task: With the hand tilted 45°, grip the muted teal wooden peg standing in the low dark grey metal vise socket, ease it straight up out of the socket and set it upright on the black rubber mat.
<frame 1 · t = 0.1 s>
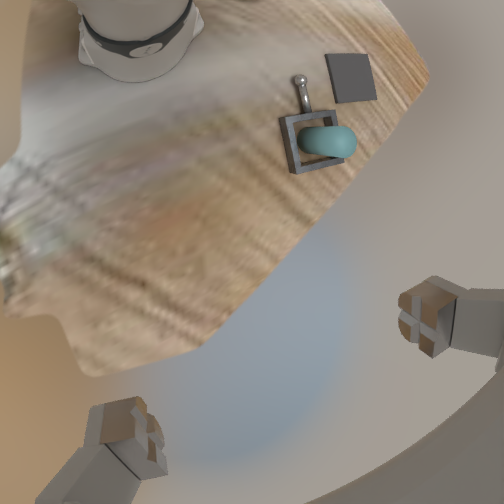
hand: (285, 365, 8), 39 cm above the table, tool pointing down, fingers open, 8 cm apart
vise socket: (309, 140, 46), on the table
teal peg: (309, 140, 46), resting in vise socket
rubber mat: (351, 77, 44), on the table
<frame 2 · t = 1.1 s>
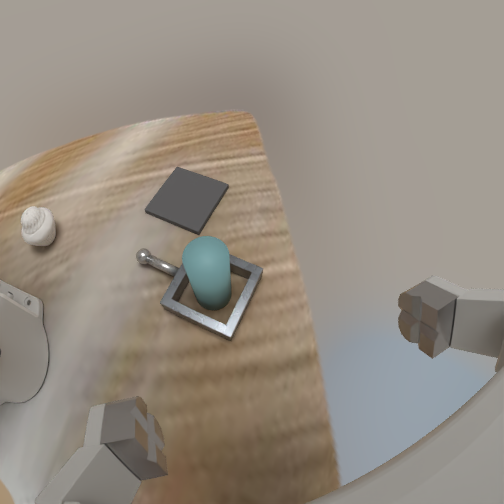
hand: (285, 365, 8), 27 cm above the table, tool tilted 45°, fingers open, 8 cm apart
vise socket: (213, 293, 37), on the table
teal peg: (213, 293, 37), resting in vise socket
muffin: (48, 237, 40), on the table
rubber mat: (187, 199, 43), on the table
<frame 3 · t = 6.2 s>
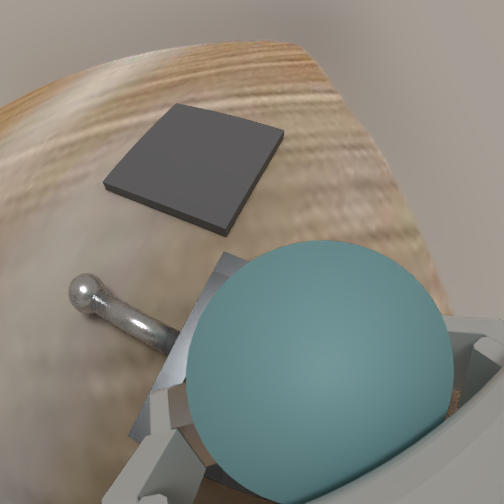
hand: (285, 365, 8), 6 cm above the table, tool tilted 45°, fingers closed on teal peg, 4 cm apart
vise socket: (273, 391, 13), on the table
teal peg: (273, 391, 13), resting in vise socket, touching gripper
rubber mat: (196, 160, 19), on the table
when the fingers open (8 cm above the table, at t = 14.6 s): teal peg stays where it is, resting on rubber mat.
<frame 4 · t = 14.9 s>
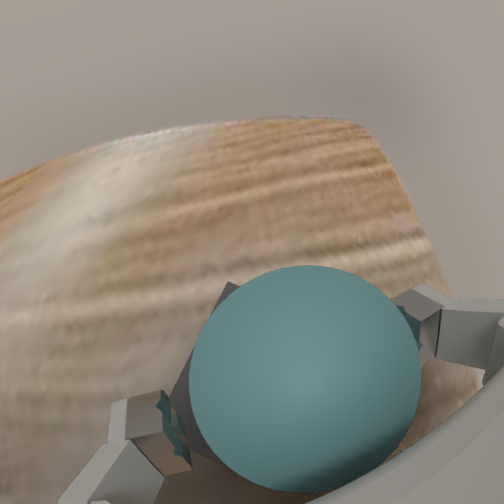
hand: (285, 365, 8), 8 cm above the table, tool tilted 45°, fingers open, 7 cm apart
teal peg: (270, 392, 14), point 1 cm above the table, touching rubber mat
rubber mat: (270, 392, 14), on the table
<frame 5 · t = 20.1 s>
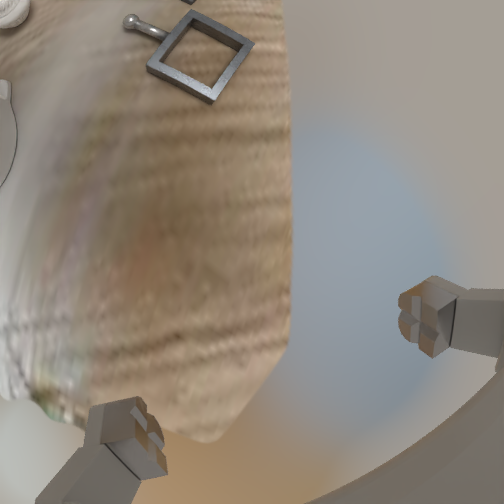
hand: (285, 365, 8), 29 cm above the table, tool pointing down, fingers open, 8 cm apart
vise socket: (199, 58, 30), on the table
muffin: (19, 18, 20), on the table
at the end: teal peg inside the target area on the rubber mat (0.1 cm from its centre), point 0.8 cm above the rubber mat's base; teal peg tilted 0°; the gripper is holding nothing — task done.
